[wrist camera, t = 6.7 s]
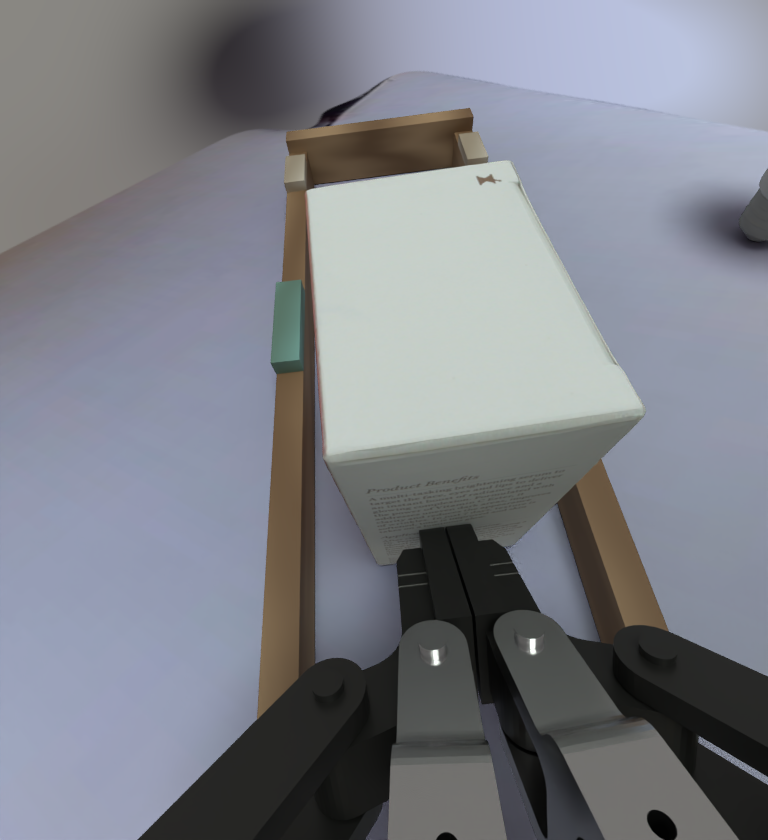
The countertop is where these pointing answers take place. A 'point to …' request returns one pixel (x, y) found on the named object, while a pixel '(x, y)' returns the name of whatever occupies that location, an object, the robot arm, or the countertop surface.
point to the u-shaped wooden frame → (295, 407)
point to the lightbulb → (757, 214)
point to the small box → (453, 357)
